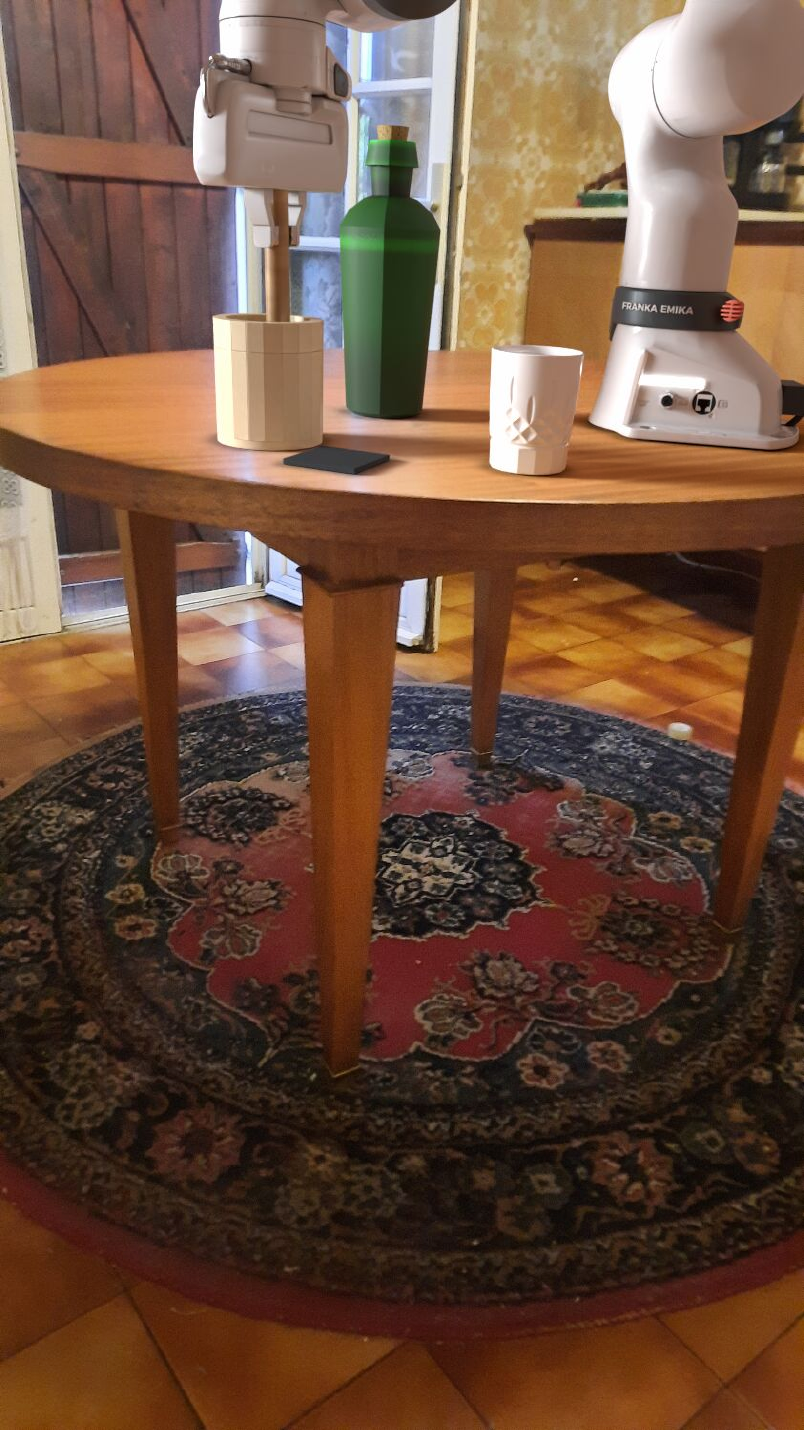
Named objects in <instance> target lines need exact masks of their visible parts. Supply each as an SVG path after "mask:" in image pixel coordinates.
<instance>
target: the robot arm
mask: <svg viewBox="0 0 804 1430" xmlns="http://www.w3.org/2000/svg"><path fill="white" fill-rule="evenodd" d="M457 1H458V0H221V5H220V9H219V17H218V23H219V50H220V52H213V53H211V54H210V56H209V58H208V59H207V60H206V62H205V63H204V66H203V67H202V68H201V70H200V74H199V75H200V77H199V78H200V85H199V87H198V88H197V91H196V95H195V101H194V111H193V113H194V114H193V135H192V136H193V137H192V138H193V140H192V141H193V142H192V143H193V146H192V149H193V150H192V151H193V152H192V154H193V155H192V157H193V158H192V159H193V160H192V161H193V162H192V163H193V169H194V172H195V175H196V177H197V179H198V181H199V184H201V185H203V186H213V187H224V188H225V187H228V188H241V189H243V203H244V206H245V209H246V211H247V214H248V217H249V219H250V222H251V225H252V227H253V228H252V230H253V244H254V246H255V247H256V248H262V249H265V248H276V247H278V245H279V226H274V221H273V216H272V212H271V208H270V204H273V189H282V190H288V211H289V248H298V247H299V246H300V243H301V242H300V241H301V236H300V235H301V233H300V232H301V231H300V227H301V224H302V221H303V219H304V215H305V212H306V210H307V206H308V201H307V200H308V199H307V197H308V196H307V193H311V194H330V195H334V194H341V193H342V192H343V189H344V187H345V183H346V181H347V177H348V168H349V167H348V166H349V141H350V139H349V136H350V135H349V134H350V133H349V132H350V131H349V130H350V129H349V128H350V126H349V116H348V112H347V108H346V106H345V104H343V103H348V102H350V101H351V100H352V94H353V81H352V76H351V75H350V73H349V72H348V70H346V69H345V67H344V66H343V64H341V63H340V62H339V60H338V59H337V58H336V56H335V55H334V53H333V51H332V49H331V48H330V46H329V45H327V22H328V23H331V24H334V25H337V26H340V27H343V28H346V29H349V30H352V31H356V32H358V33H364V34H376V33H381V32H385V31H387V30H389V29H393V28H396V27H399V26H401V25H403V24H406V23H408V22H412V21H419V20H426V19H431V18H433V17H436V16H438V15H441V14H442V13H443V12H445V11H447V10H448V9H449V8H451V7H452V6H453V5H454V4H455V3H456V2H457ZM615 57H616V58H615V59H614V61H613V64H612V66H611V69H610V72H609V77H608V84H607V86H608V87H607V93H608V94H607V95H608V102H609V105H610V106H609V107H610V109H611V112H612V114H613V117H614V118H615V120H616V122H617V123H618V125H619V127H620V130H621V136H622V141H623V150H624V158H625V159H624V160H625V167H626V179H627V181H626V182H627V216H626V219H627V220H626V227H625V235H624V236H625V237H624V245H623V254H622V262H621V273H620V282H619V285H617V286H616V287H615V288H614V289H615V290H614V295H613V298H612V302H611V309H610V316H609V317H610V318H609V326H608V333H609V336H608V340H609V341H610V345H609V350H608V355H607V359H606V363H605V367H604V372H603V375H602V379H601V383H600V386H599V390H598V392H597V396H596V399H595V402H594V404H593V407H592V409H591V412H590V414H589V416H588V419H587V420H588V422H589V423H590V424H592V425H594V426H597V427H600V428H602V429H606V430H609V431H613V432H616V433H617V434H619V435H621V436H623V437H626V438H630V439H639V440H651V441H661V442H663V441H664V442H675V443H687V444H698V445H710V446H721V447H722V446H723V447H735V448H745V449H757V450H779V449H780V450H782V449H785V448H790V447H792V446H794V445H795V444H797V443H798V441H799V437H800V429H799V427H798V426H796V425H798V424H799V423H800V422H801V421H802V420H803V419H804V383H801V382H798V381H796V380H794V379H781V378H780V375H779V374H778V372H777V371H776V370H775V369H774V367H773V366H772V365H771V364H770V363H768V361H767V360H766V359H765V358H764V357H763V356H762V355H761V354H760V353H759V352H758V351H757V350H756V349H755V348H754V347H753V346H752V345H751V343H749V342H748V340H746V339H745V337H743V335H742V334H741V333H740V332H739V331H738V330H739V329H741V326H742V323H743V318H744V311H745V303H744V301H742V300H740V299H738V298H737V297H736V296H734V295H733V294H732V293H730V292H729V291H727V290H728V284H729V278H730V272H731V266H732V260H733V254H734V249H735V248H734V247H735V242H736V236H737V230H738V226H739V225H738V224H739V217H740V213H739V205H738V202H737V200H736V198H735V196H734V195H733V194H732V191H731V190H730V188H729V184H728V181H727V176H726V171H725V162H724V136H732V135H741V134H745V133H746V134H747V133H750V132H752V131H754V130H756V129H758V128H760V127H762V126H764V125H767V124H768V123H770V122H772V121H774V120H776V119H777V118H780V117H781V116H783V115H785V114H786V113H787V112H789V111H790V110H791V109H792V108H793V107H794V106H796V104H797V103H798V102H799V101H800V99H801V98H802V97H803V95H804V7H803V5H802V4H801V0H686V1H685V4H684V7H683V10H682V12H680V13H676V14H673V15H669V16H666V17H663V18H661V19H657V20H656V21H653V22H652V23H650V24H648V25H647V26H646V27H645V28H644V29H642V30H641V31H640V32H638V33H637V34H636V35H635V36H634V37H632V39H630V40H629V41H628V42H627V43H626V44H625V45H624V46H623V47H622V48H621V50H620V51H619V52H618V54H617V56H615ZM783 416H793V417H791V418H790V419H789V420H788V421H782V419H783V418H782V417H783Z"/></svg>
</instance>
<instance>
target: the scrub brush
mask: <svg viewBox="0 0 804 1430" xmlns="http://www.w3.org/2000/svg"><path fill="white" fill-rule="evenodd" d="M270 208H271V212H272V216H273V221H274V226H279V245H278V247H276V248H264V280H265V284H264V285H265V313H266V322H290V315H291V289H290V288H291V287H290V286H291V285H290V284H291V283H290V282H291V281H290V247H289V211H288V190H282V189H273V204H270Z"/></svg>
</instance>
